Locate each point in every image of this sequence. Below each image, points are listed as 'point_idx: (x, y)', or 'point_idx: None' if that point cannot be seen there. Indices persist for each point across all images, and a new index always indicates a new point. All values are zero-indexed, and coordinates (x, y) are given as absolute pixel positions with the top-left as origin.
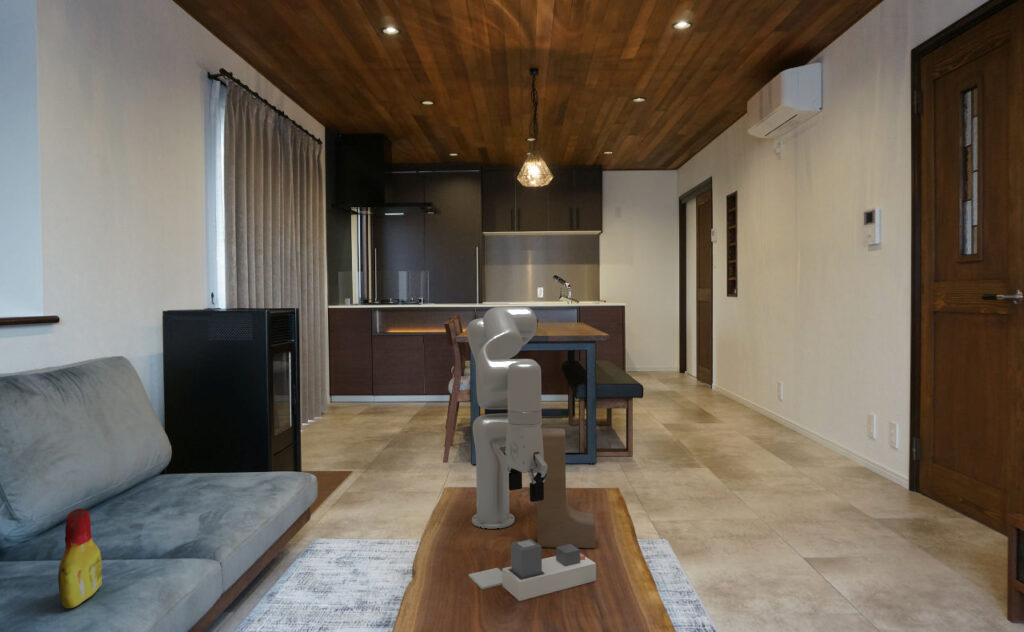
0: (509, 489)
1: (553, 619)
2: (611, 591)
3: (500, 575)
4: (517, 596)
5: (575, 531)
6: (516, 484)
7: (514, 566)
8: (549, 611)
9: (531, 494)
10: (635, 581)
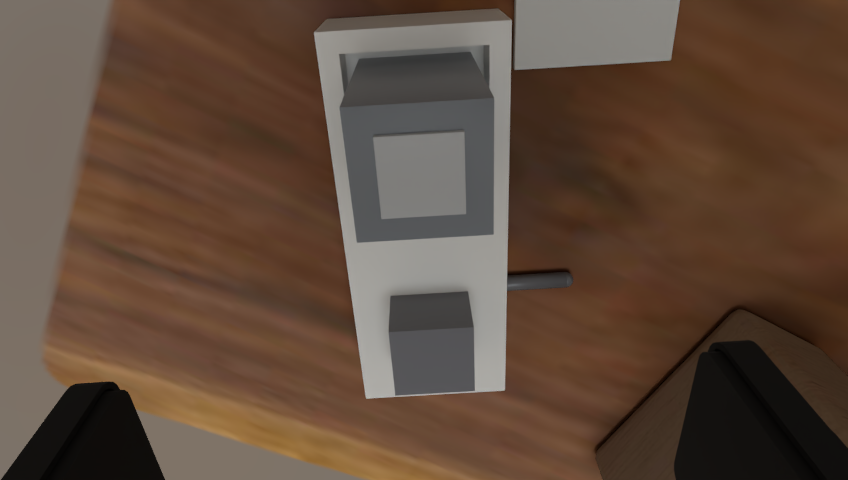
0: (736, 341)
1: (130, 84)
2: (277, 356)
3: (586, 38)
4: (342, 19)
5: (659, 461)
6: (717, 471)
7: (439, 69)
8: (199, 100)
9: (16, 470)
10: (315, 440)
